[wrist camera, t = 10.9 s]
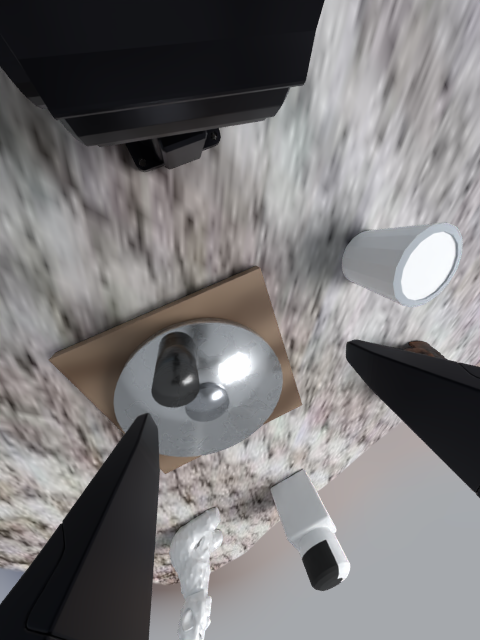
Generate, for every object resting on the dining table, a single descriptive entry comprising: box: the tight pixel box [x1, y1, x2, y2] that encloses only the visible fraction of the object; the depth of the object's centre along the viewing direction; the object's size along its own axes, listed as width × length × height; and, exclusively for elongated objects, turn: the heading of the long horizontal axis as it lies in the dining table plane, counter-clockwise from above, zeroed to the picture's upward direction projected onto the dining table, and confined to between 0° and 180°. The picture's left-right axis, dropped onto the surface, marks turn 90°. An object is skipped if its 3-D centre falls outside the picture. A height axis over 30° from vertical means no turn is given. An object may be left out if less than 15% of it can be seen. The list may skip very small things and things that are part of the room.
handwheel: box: [114, 318, 283, 457], centre depth 20 cm, size 17×17×7 cm
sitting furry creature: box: [169, 507, 223, 640], centre depth 31 cm, size 10×9×12 cm
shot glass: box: [342, 222, 462, 307], centre depth 20 cm, size 7×7×7 cm
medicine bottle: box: [270, 469, 350, 591], centre depth 34 cm, size 7×7×12 cm
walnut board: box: [49, 266, 302, 474], centre depth 24 cm, size 20×20×1 cm
